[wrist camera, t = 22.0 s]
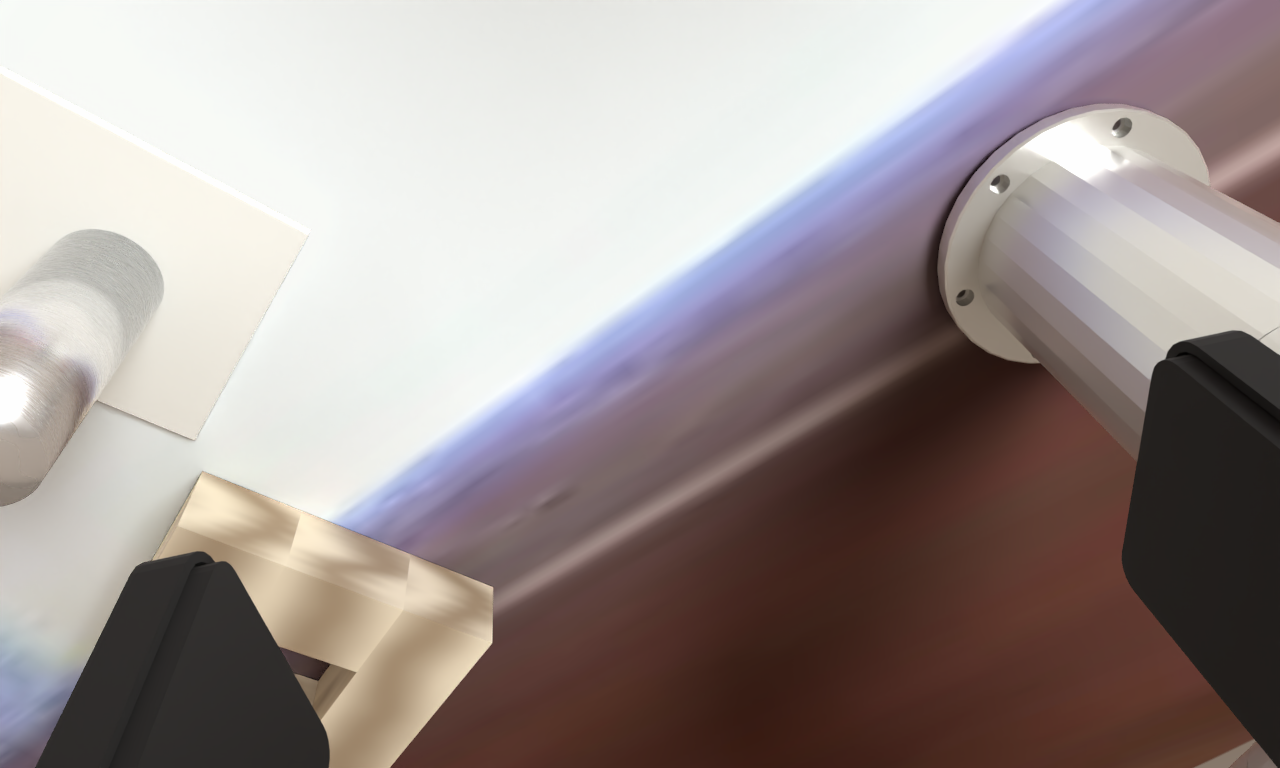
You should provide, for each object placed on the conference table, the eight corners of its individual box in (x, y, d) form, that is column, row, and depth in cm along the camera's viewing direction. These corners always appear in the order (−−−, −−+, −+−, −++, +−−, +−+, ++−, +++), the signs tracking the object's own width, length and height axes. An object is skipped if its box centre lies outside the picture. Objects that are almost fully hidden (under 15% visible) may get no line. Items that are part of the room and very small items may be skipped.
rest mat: (310, 229, 38) (308, 235, 38) (198, 432, 43) (194, 440, 42) (-1, 65, 33) (-8, 69, 33) (-91, 313, 38) (-99, 320, 37)
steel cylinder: (136, 220, 36) (0, 376, 26) (181, 315, 39) (72, 493, 29) (25, 239, 36) (-155, 404, 26) (77, 334, 39) (-70, 519, 28)
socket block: (493, 587, 50) (492, 642, 47) (359, 755, 56) (350, 815, 53) (202, 471, 44) (177, 526, 40) (86, 674, 50) (56, 737, 46)
